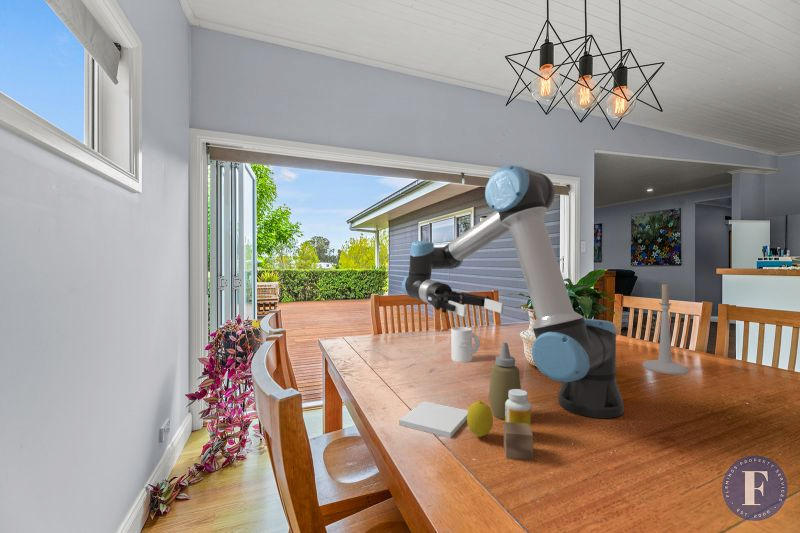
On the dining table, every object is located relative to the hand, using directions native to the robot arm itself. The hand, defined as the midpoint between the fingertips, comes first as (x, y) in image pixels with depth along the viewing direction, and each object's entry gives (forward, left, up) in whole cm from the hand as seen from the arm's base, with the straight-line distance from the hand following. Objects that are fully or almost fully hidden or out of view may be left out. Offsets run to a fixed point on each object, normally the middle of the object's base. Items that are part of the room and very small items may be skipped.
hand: (484, 309), depth 97 cm
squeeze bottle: (-6, +4, -26) cm, 27 cm away
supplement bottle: (-11, +13, -26) cm, 31 cm away
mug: (+20, -40, -26) cm, 51 cm away
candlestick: (-45, -61, -26) cm, 80 cm away
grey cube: (-13, +20, -26) cm, 35 cm away
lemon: (-4, +18, -26) cm, 32 cm away
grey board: (+8, +15, -25) cm, 30 cm away
